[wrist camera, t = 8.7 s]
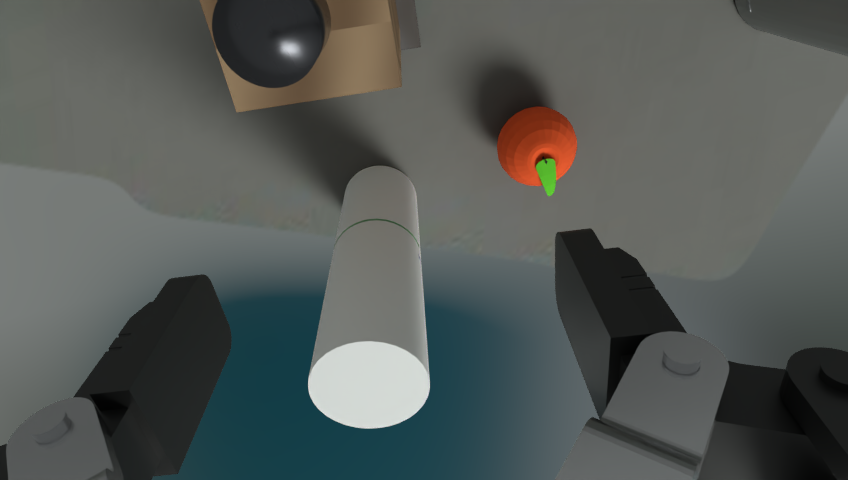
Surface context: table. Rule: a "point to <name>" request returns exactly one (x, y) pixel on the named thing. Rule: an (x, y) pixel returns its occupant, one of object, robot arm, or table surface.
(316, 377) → the cylindrical container
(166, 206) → the table surface
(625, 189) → the table surface
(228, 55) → the plunger
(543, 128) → the clementine
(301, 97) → the box
